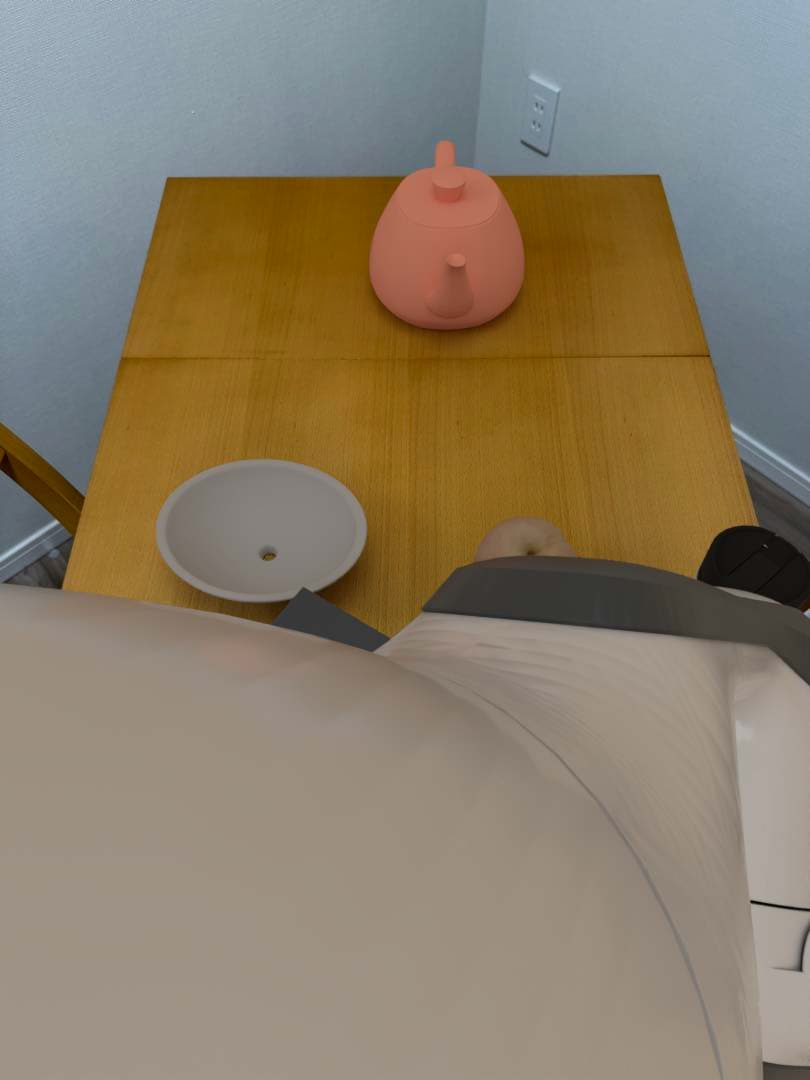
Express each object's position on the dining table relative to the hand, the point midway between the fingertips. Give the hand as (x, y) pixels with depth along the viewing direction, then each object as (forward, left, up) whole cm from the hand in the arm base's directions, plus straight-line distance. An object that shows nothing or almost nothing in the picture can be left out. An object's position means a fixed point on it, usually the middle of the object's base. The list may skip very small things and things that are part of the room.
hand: (495, 835), depth 55 cm
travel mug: (+18, -6, -6) cm, 20 cm away
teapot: (+49, +35, -6) cm, 61 cm away
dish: (+11, +29, -6) cm, 31 cm away
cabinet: (0, +13, -6) cm, 14 cm away
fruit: (+20, +9, -6) cm, 23 cm away
